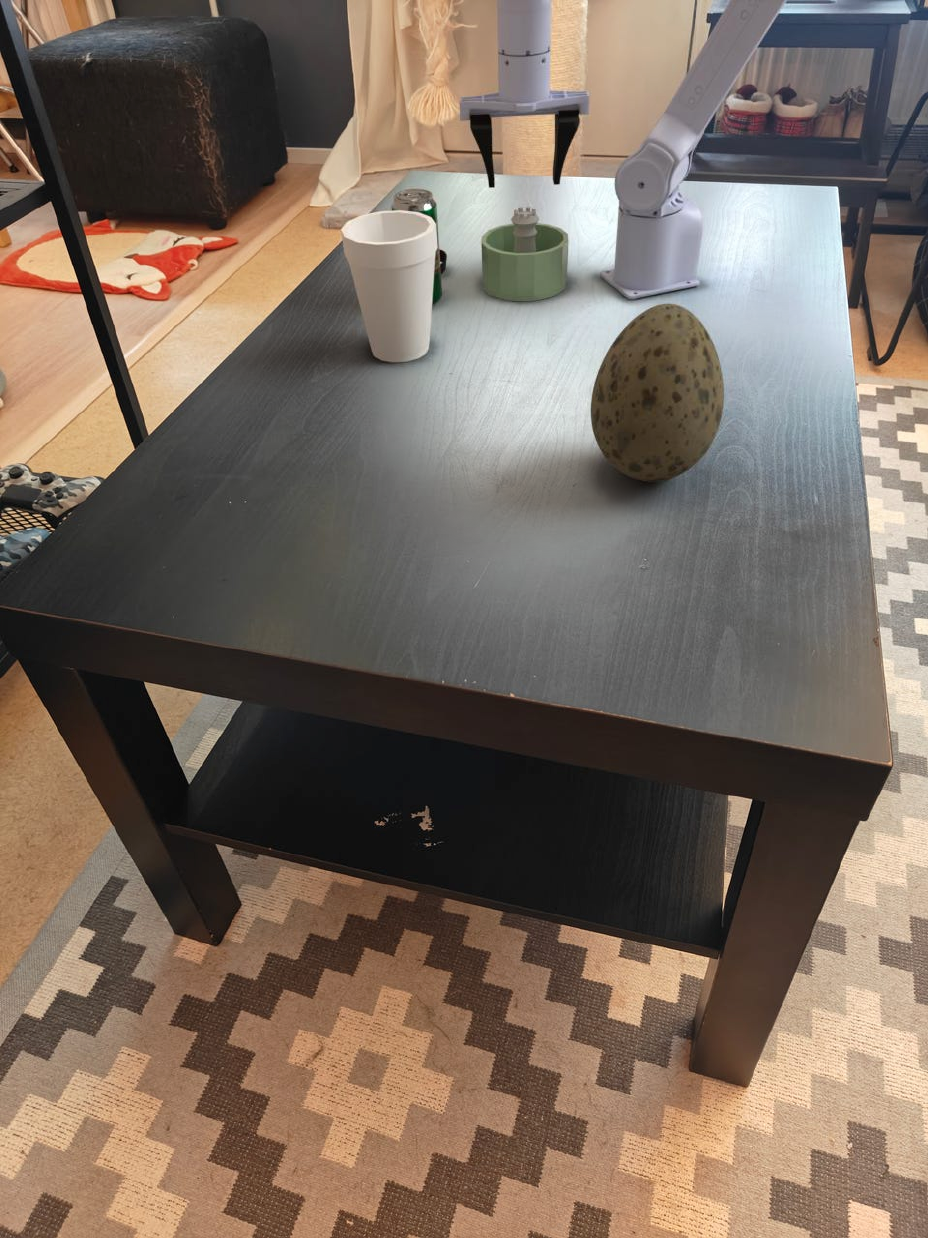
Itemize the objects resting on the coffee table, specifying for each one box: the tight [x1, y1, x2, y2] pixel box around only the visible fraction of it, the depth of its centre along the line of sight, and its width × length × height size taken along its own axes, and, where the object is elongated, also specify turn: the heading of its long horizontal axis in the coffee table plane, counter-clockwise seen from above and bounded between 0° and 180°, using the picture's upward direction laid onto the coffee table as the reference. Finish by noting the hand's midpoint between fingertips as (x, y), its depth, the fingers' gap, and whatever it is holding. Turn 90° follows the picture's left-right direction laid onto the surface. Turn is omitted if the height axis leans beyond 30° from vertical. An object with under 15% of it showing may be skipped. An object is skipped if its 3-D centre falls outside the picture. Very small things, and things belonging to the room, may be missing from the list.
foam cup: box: [340, 210, 438, 363], centre depth 94 cm, size 10×9×13 cm
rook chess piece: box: [510, 206, 540, 253], centre depth 106 cm, size 4×4×8 cm
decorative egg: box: [590, 303, 725, 483], centre depth 74 cm, size 11×11×15 cm
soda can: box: [390, 188, 443, 306], centre depth 103 cm, size 5×5×12 cm
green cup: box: [480, 222, 569, 302], centre depth 107 cm, size 10×10×6 cm
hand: (523, 183), depth 106 cm, fingers open, 7 cm apart
